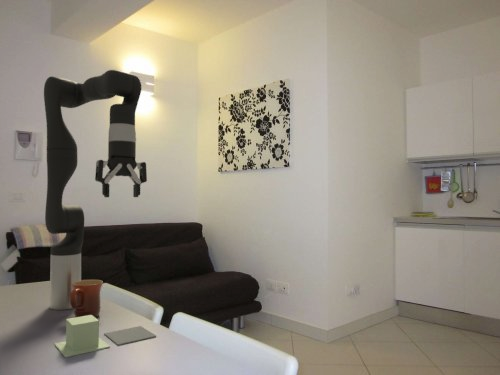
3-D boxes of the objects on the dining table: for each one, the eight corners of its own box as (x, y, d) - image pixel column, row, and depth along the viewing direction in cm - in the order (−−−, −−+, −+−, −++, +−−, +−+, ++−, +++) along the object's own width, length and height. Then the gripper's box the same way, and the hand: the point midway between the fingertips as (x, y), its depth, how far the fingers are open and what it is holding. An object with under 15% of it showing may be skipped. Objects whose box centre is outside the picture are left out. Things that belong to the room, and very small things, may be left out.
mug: (82, 311, 127) (83, 278, 128) (108, 313, 126) (108, 280, 126) (57, 323, 116) (57, 287, 116) (85, 325, 114) (85, 288, 114)
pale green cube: (65, 343, 99) (66, 319, 99) (91, 338, 102) (91, 314, 103) (72, 351, 94) (72, 325, 94) (98, 345, 98) (98, 320, 98)
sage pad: (54, 344, 99) (54, 343, 99) (96, 336, 105) (96, 334, 105) (65, 357, 91) (65, 356, 91) (109, 347, 97) (109, 346, 97)
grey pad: (104, 334, 106) (104, 333, 106) (140, 327, 113) (140, 325, 113) (118, 345, 99) (118, 344, 99) (156, 336, 105) (156, 335, 105)
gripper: (140, 144, 125) (140, 197, 124) (92, 140, 116) (92, 197, 115) (150, 141, 119) (150, 197, 118) (101, 137, 110) (100, 197, 110)
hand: (121, 197), depth 117 cm, fingers open, 8 cm apart
